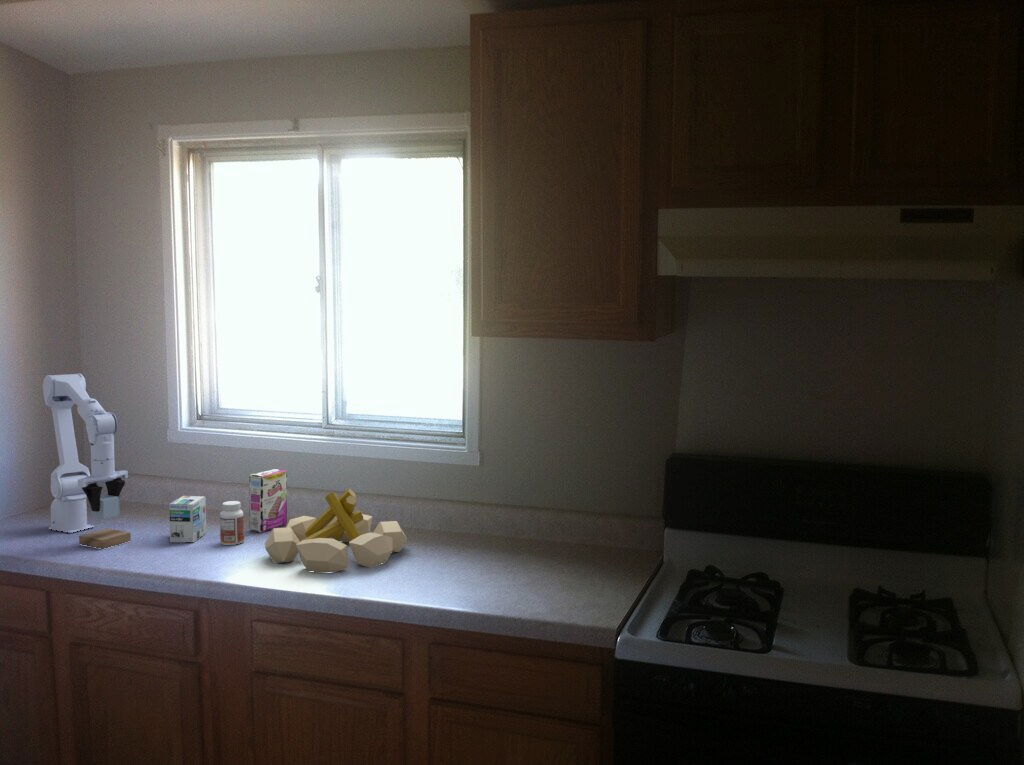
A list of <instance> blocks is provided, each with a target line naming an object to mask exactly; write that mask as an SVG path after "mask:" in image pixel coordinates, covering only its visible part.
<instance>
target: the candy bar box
mask: <svg viewBox="0 0 1024 765" xmlns="http://www.w3.org/2000/svg"><path fill="white" fill-rule="evenodd" d="M287 513H288V470H285V469H279V468H278V469H276V468H273V469H269V470H266V471H265V470H264V471H259V472H256V473H251V474H249V520H248V521H249V524H248V526H249V528H248V529H249V531H250V532H253V531H254V533H261V534H262V533H265V532H268V531H272V529H273V528H282V527H284V526H287V525H288V519H287V518H288V517H287V516H288V514H287ZM286 524H287V525H286Z"/></svg>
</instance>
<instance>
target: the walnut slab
mask: <svg viewBox="0 0 1024 765" xmlns="http://www.w3.org/2000/svg"><path fill="white" fill-rule="evenodd" d="M78 540H79V541H78V545H79V544H82V545H87V546H91V547H96V548H101V549H104V548H108V547H111V546H114V547H116V546H115V545H118V546H120V545H119V544H121V545H123V544H122V543H125V542H128V541H131V532H130V531H123V530H118V529H114V528H113V529H112V528H104V529H99V530H95V531H92V532H88V533H84V534H80V535H78ZM131 542H132V541H131ZM128 543H129V542H128ZM125 544H126V543H125ZM91 547H90V548H91ZM96 548H95V549H96ZM111 548H112V547H111ZM101 549H100V550H101ZM108 549H109V548H108ZM104 550H105V549H104Z"/></svg>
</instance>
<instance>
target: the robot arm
mask: <svg viewBox="0 0 1024 765" xmlns="http://www.w3.org/2000/svg"><path fill="white" fill-rule="evenodd" d="M42 382H43V383H42V392H43V393H42V394H43V399H44V403H45V406H47V407H49V408H50V409H51V413H52V419H53V427H54V434H55V440H56V448H57V454H58V460H59V461H58V462H59V465H58V466H57V467H56V468H54V470H53V471H52V472H51V474H50V492H51V495H52V496H53V497H54V499H53V500H52V501H51V504H50V526H49V527H48V530H51V529H52V531H56V530H57V531H58V532H61V531H63V532H62V533H67V532H68V534H73V532H74V533H78V532H81V531H84V529H85V530H88V528H89V529H92V527H93V528H95V525H92V524H88V515H87V514H88V513H87V510H88V509H87V501H88V502H89V505H90V510H91V509H92V511H96V512H98V511H99V510H100V496H102V489H103V486H99V484H102V483H104V484H105V486H106V490H107V495H111V496H117V497H119V498H120V495H121V493H122V490H123V488H124V487H125V484H126V480H125V479H128V478H129V471H128V470H116V469H115V467H116V464H115V461H116V460H115V436H114V435H116V434H117V432H118V430H119V429H118V428H119V426H118V419H117V416H116V414H115V413H113V412H109V411H108V412H106V410H105V409H104V408H103V407H102V404H100V403H99V402H98V400H97V399H96V398H91V397H90V396H89V394H88V392H87V391H86V389H87V388H86V387H87V384H86V379H85V376H83V374H82V373H80V372H78V373H70V374H53V375H51V374H47V375H46V376H45V377H44V379H43V381H42ZM75 405H77V413H78V415H79V416H80V417H81V418H82V420H83V421H84V423H85V429H86V432H87V437H88V438H87V439H88V442H89V443H90V465H91V467H90V468H91V470H90V469H89V467H87V466H86V465H84V464H82V463H80V461H79V460H80V459H79V454H78V448H77V442H76V441H77V440H76V435H75V434H76V433H75V428H74V420H73V415H72V407H73V406H75ZM90 471H91V473H90ZM80 530H81V531H80ZM77 531H78V532H77Z"/></svg>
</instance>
